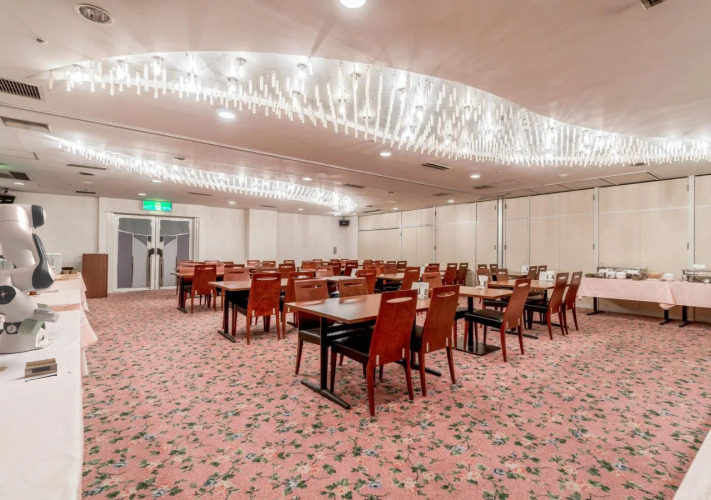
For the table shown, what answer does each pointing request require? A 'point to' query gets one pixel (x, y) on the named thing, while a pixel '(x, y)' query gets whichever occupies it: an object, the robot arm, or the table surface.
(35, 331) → the tea tin
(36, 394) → the table surface
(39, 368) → the shelf board
